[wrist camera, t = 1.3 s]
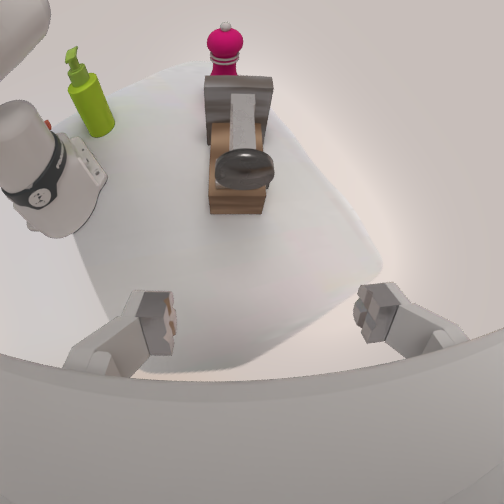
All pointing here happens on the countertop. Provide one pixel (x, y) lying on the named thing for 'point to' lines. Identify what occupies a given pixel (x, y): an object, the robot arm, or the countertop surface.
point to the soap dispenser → (88, 97)
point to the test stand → (219, 136)
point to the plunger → (243, 151)
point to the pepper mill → (224, 49)
